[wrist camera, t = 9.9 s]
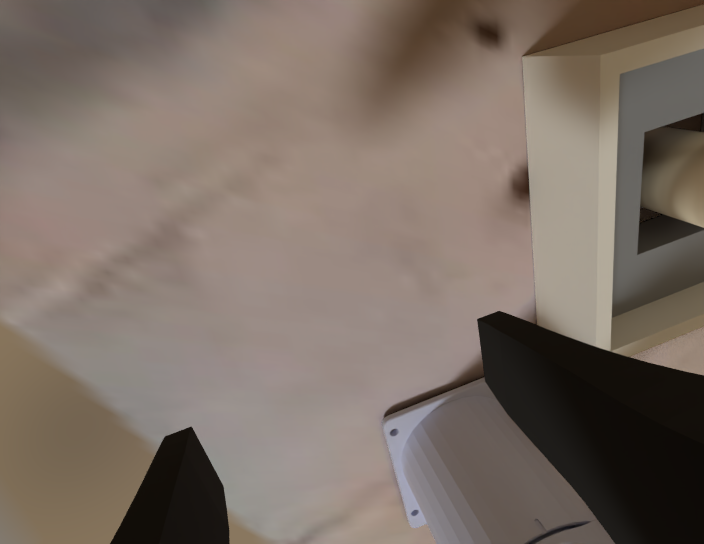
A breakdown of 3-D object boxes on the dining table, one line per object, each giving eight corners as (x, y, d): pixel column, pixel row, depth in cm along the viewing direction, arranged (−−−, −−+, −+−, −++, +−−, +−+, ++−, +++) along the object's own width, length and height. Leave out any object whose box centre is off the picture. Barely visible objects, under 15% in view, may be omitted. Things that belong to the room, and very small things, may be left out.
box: (740, 245, 28) (826, 275, 24) (537, 324, 26) (595, 370, 22) (785, -20, 22) (912, -38, 18) (522, 56, 20) (600, 55, 16)
